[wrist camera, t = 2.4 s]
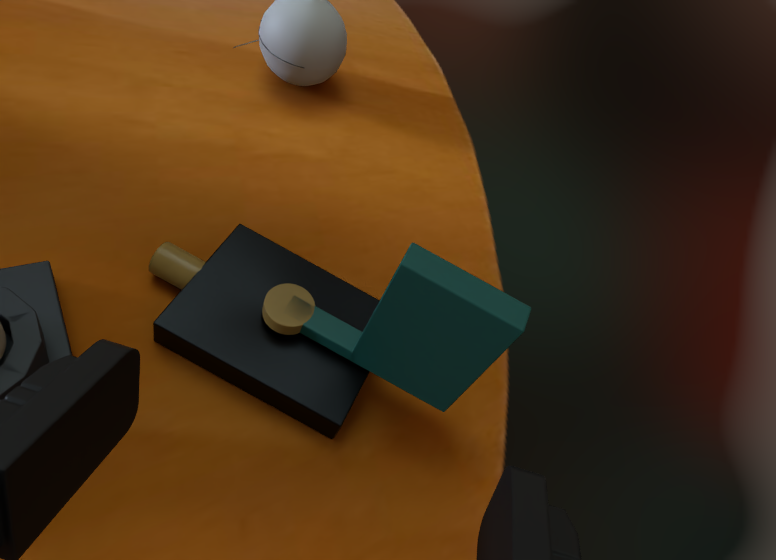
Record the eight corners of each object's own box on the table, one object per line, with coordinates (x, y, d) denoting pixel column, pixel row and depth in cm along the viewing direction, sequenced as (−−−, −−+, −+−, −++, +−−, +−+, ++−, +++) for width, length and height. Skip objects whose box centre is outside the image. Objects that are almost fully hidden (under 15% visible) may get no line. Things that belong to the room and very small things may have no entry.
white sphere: (318, 48, 55) (336, -27, 49) (348, 102, 52) (370, 29, 46) (212, 49, 50) (218, -34, 45) (237, 108, 47) (247, 27, 41)
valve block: (111, 318, 34) (108, 298, 32) (200, 223, 40) (202, 202, 38) (332, 440, 34) (341, 427, 32) (390, 327, 40) (400, 311, 38)
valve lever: (252, 319, 34) (277, 209, 26) (277, 283, 36) (308, 172, 28) (440, 422, 34) (520, 343, 26) (455, 382, 36) (535, 297, 28)
